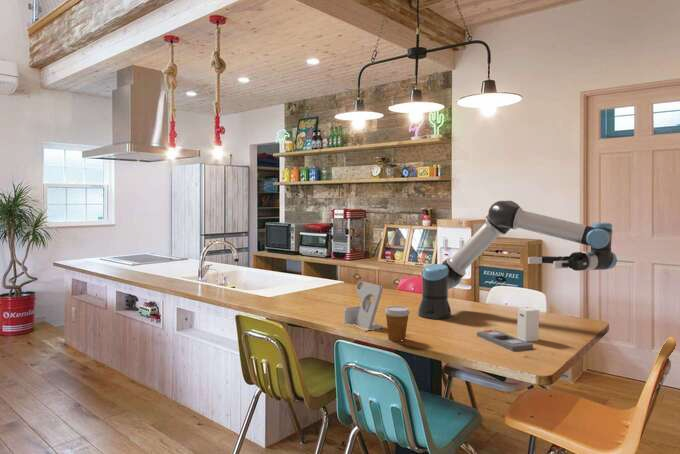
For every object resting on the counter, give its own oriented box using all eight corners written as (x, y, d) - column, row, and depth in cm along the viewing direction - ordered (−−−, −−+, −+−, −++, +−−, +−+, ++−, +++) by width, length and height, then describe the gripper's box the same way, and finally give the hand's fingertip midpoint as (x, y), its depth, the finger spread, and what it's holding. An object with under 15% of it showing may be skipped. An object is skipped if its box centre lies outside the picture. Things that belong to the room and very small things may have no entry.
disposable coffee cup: (406, 335, 191) (407, 305, 191) (411, 342, 182) (411, 311, 181) (382, 335, 191) (383, 305, 190) (385, 342, 181) (386, 311, 181)
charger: (516, 342, 184) (517, 308, 184) (529, 340, 186) (530, 307, 186) (524, 345, 180) (526, 311, 179) (538, 344, 182) (539, 310, 181)
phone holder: (341, 322, 211) (342, 281, 210) (360, 319, 217) (360, 279, 216) (365, 331, 197) (365, 287, 196) (384, 328, 202) (385, 285, 202)
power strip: (476, 339, 187) (477, 330, 187) (496, 337, 190) (496, 328, 190) (512, 355, 168) (512, 344, 168) (532, 352, 172) (533, 342, 171)
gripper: (608, 274, 185) (565, 277, 178) (558, 266, 209) (518, 267, 202) (609, 255, 185) (566, 256, 178) (559, 248, 208) (519, 249, 201)
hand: (540, 262), depth 190 cm, fingers open, 13 cm apart
